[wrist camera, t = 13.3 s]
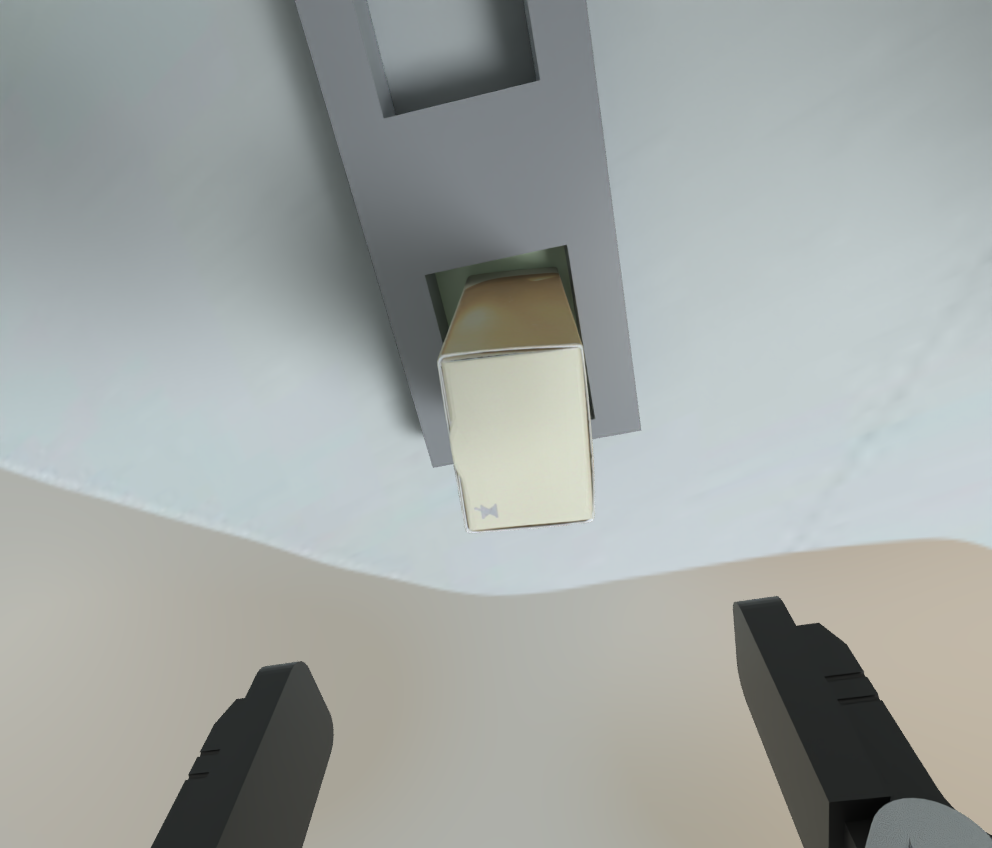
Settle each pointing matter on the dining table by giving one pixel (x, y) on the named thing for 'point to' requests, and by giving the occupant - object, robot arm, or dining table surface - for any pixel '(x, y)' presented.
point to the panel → (481, 197)
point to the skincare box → (518, 404)
